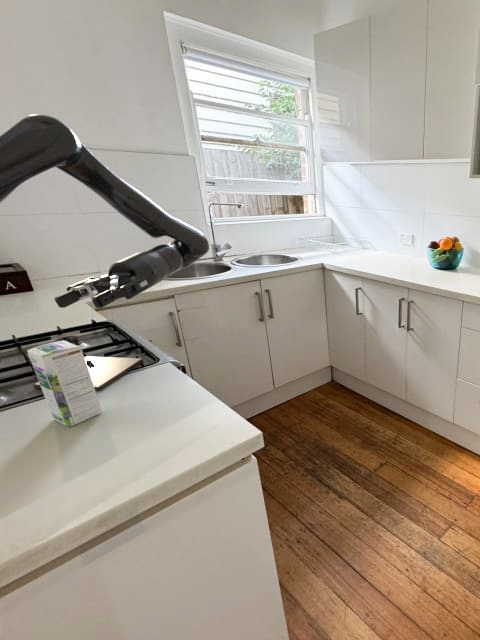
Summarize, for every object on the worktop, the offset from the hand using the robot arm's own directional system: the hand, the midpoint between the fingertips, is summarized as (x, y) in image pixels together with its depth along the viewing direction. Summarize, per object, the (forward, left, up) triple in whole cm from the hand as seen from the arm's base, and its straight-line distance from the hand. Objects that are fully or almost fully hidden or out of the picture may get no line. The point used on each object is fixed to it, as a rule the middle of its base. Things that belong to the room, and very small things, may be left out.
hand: (76, 303), depth 72 cm
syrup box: (+1, -8, -20) cm, 22 cm away
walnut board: (-9, +8, -20) cm, 24 cm away
